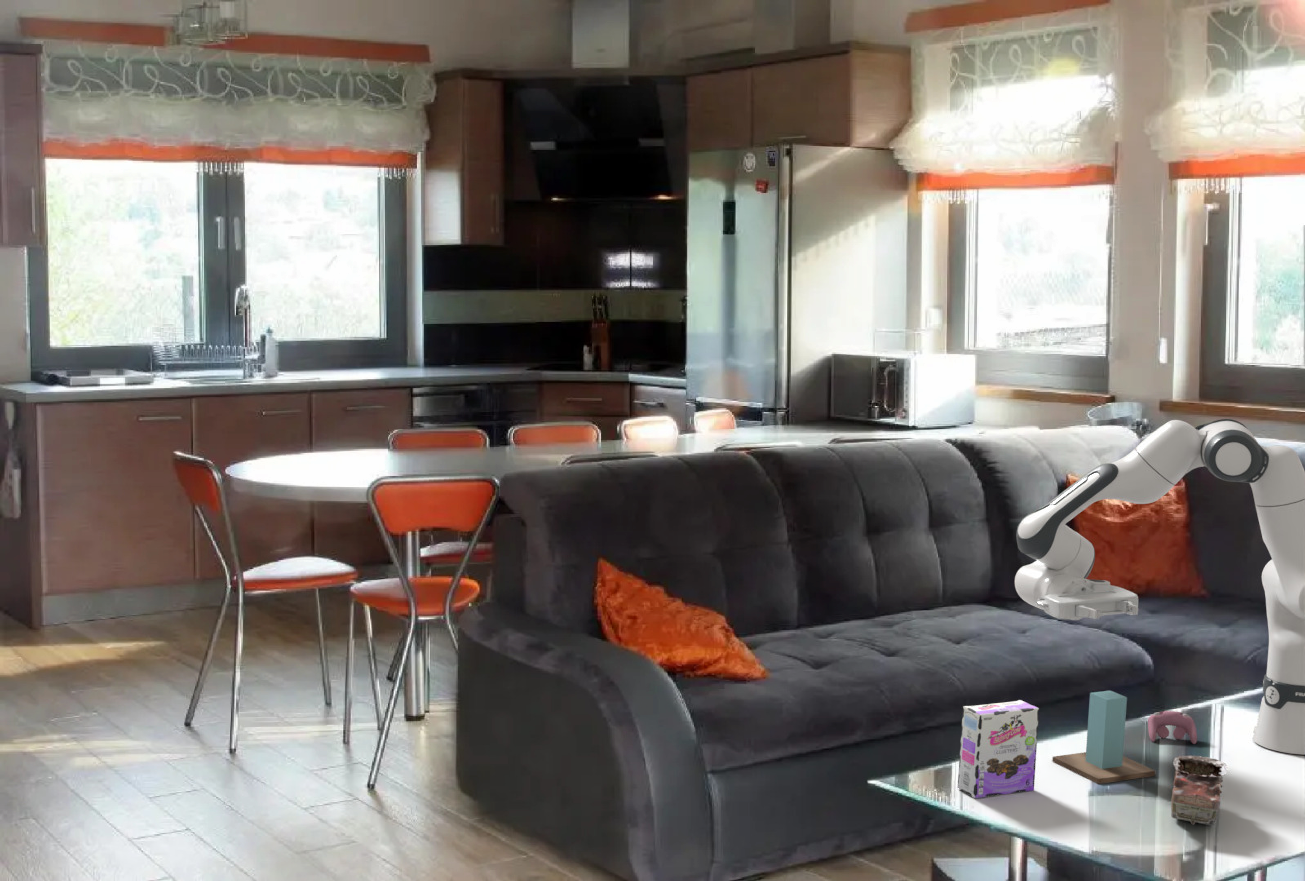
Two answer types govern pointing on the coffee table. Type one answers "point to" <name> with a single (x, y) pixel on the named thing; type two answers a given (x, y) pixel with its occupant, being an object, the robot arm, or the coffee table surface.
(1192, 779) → the decorative box
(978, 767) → the candy box
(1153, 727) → the video game controller
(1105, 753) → the teal block
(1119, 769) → the walnut board
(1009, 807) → the coffee table surface
